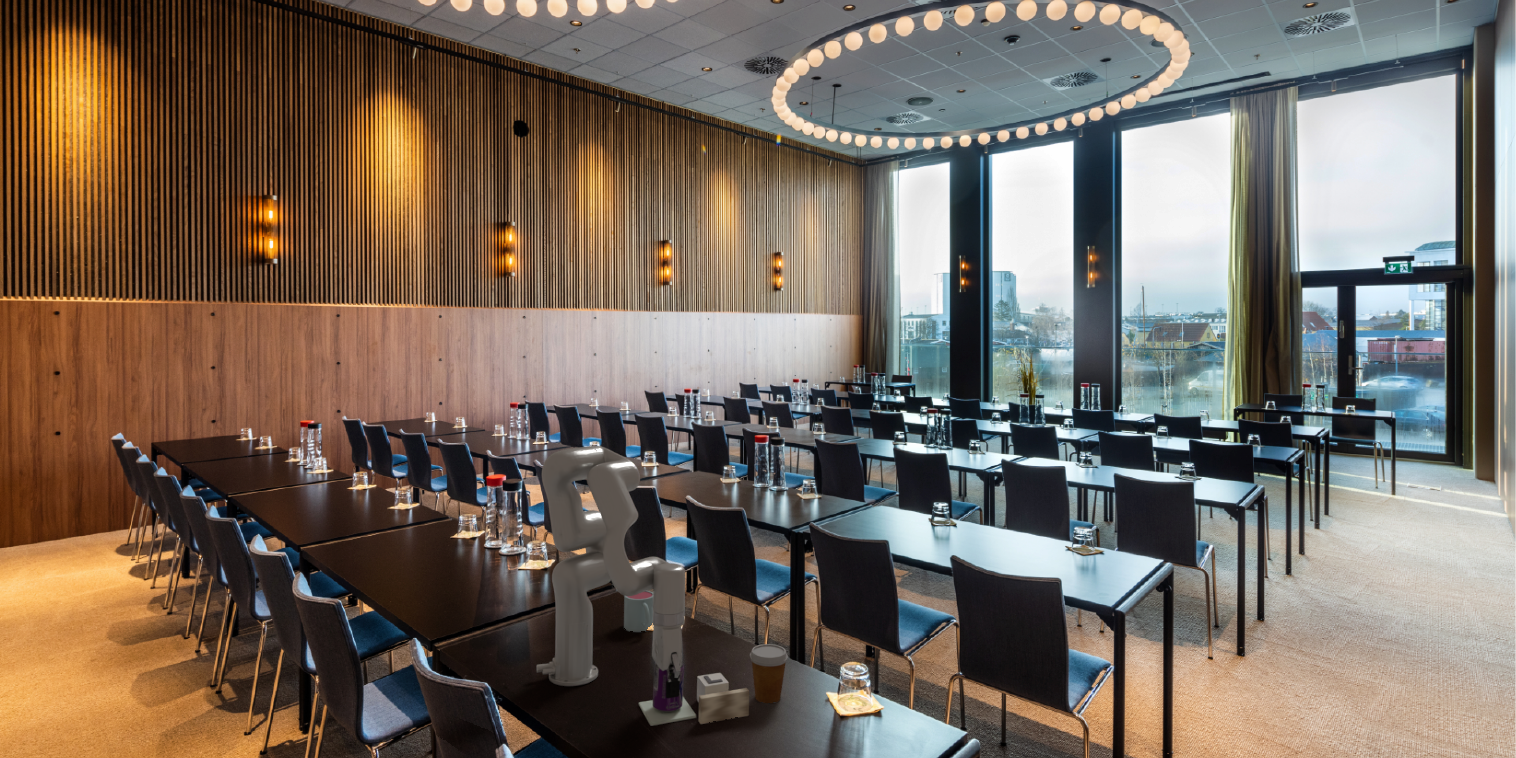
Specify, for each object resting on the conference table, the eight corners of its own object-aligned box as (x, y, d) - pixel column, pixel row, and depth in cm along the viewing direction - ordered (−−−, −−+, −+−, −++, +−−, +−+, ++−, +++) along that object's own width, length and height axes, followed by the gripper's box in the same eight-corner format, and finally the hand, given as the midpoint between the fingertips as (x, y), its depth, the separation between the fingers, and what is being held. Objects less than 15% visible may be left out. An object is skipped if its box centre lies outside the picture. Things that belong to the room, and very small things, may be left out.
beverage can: (676, 716, 179) (679, 665, 179) (648, 711, 180) (650, 661, 180) (685, 703, 186) (688, 654, 186) (658, 699, 187) (660, 650, 187)
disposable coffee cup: (774, 710, 185) (775, 661, 184) (741, 700, 190) (742, 652, 189) (793, 695, 193) (795, 648, 192) (761, 686, 198) (762, 640, 197)
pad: (650, 725, 176) (650, 723, 176) (638, 704, 186) (638, 702, 186) (696, 717, 180) (696, 715, 180) (682, 697, 190) (682, 695, 190)
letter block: (704, 710, 184) (705, 685, 183) (696, 700, 189) (697, 675, 189) (728, 706, 186) (728, 681, 186) (719, 696, 191) (720, 671, 191)
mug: (620, 623, 240) (621, 592, 239) (649, 619, 244) (649, 588, 243) (632, 639, 227) (633, 605, 227) (662, 634, 231) (663, 602, 231)
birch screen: (700, 724, 177) (701, 698, 177) (698, 721, 179) (699, 695, 178) (748, 715, 182) (749, 690, 182) (746, 712, 183) (746, 687, 183)
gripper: (643, 606, 189) (642, 676, 189) (663, 631, 173) (662, 707, 173) (673, 603, 192) (671, 672, 192) (695, 627, 176) (693, 702, 176)
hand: (667, 688), depth 183 cm, fingers open, 8 cm apart
